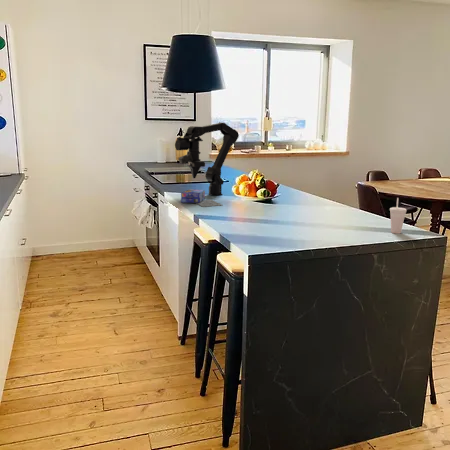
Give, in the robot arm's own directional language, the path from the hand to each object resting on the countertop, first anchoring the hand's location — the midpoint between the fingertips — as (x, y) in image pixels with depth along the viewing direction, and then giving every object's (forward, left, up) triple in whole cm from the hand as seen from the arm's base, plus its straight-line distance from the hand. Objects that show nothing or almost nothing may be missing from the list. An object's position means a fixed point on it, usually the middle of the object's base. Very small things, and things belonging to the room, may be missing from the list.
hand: (194, 178), depth 261 cm
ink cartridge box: (+2, +8, -8) cm, 11 cm away
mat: (0, +21, -10) cm, 23 cm away
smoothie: (-50, +104, -11) cm, 116 cm away
